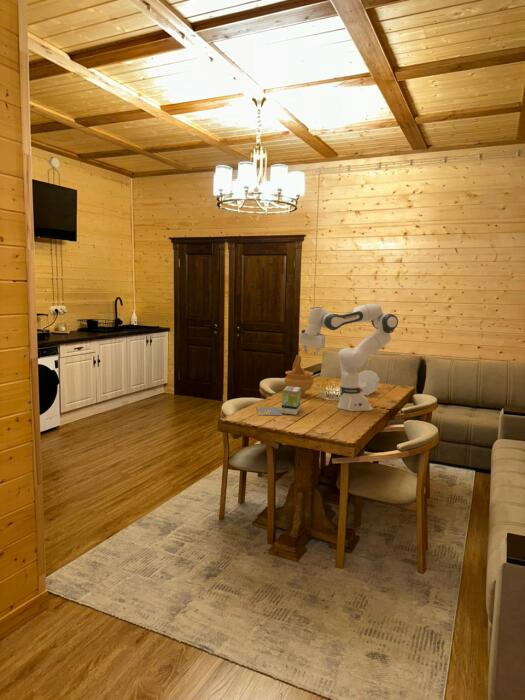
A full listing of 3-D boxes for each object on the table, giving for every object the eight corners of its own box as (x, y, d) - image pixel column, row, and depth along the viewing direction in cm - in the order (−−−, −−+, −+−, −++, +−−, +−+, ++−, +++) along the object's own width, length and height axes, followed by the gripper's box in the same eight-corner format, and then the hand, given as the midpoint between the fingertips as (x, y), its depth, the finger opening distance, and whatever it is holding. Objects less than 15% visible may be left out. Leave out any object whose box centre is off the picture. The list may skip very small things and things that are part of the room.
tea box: (296, 415, 292) (298, 391, 291) (280, 413, 294) (282, 389, 292) (300, 409, 307) (301, 387, 305) (284, 408, 309) (286, 385, 307)
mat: (279, 407, 310) (279, 407, 310) (282, 415, 290) (282, 415, 290) (256, 407, 309) (256, 407, 309) (258, 415, 289) (258, 415, 289)
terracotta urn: (317, 398, 340) (319, 356, 337) (288, 399, 335) (290, 357, 332) (307, 392, 361) (308, 353, 357) (280, 393, 356) (281, 353, 352)
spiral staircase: (373, 396, 373) (368, 401, 350) (353, 384, 378) (347, 388, 355) (385, 376, 369) (380, 379, 346) (365, 364, 374) (359, 367, 351)
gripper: (328, 334, 299) (325, 356, 300) (306, 330, 315) (303, 351, 316) (321, 333, 295) (318, 356, 296) (299, 330, 311) (296, 351, 312)
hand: (310, 353), depth 306 cm, fingers open, 8 cm apart
